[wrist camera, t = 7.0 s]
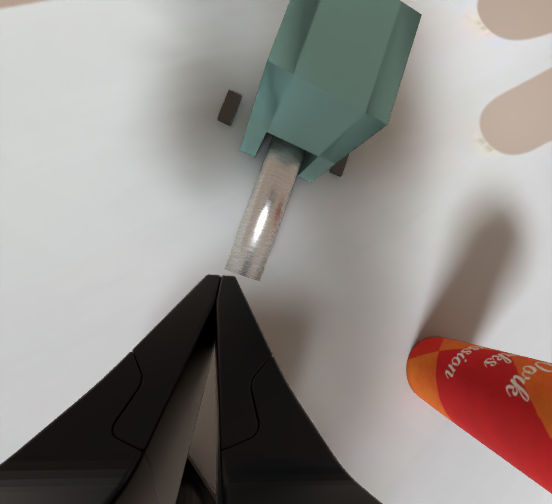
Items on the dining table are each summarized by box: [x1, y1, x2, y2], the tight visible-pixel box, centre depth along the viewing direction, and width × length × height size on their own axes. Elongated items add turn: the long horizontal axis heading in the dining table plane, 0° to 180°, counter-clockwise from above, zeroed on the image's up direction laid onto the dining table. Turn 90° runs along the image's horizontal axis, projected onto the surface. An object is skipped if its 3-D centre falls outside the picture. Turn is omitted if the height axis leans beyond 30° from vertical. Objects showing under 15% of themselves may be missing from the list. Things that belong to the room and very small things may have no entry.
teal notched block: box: [240, 0, 421, 182], centre depth 17 cm, size 6×6×10 cm
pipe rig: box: [218, 90, 349, 281], centre depth 20 cm, size 18×11×5 cm, turn 161°
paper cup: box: [406, 337, 552, 493], centre depth 18 cm, size 8×8×14 cm
